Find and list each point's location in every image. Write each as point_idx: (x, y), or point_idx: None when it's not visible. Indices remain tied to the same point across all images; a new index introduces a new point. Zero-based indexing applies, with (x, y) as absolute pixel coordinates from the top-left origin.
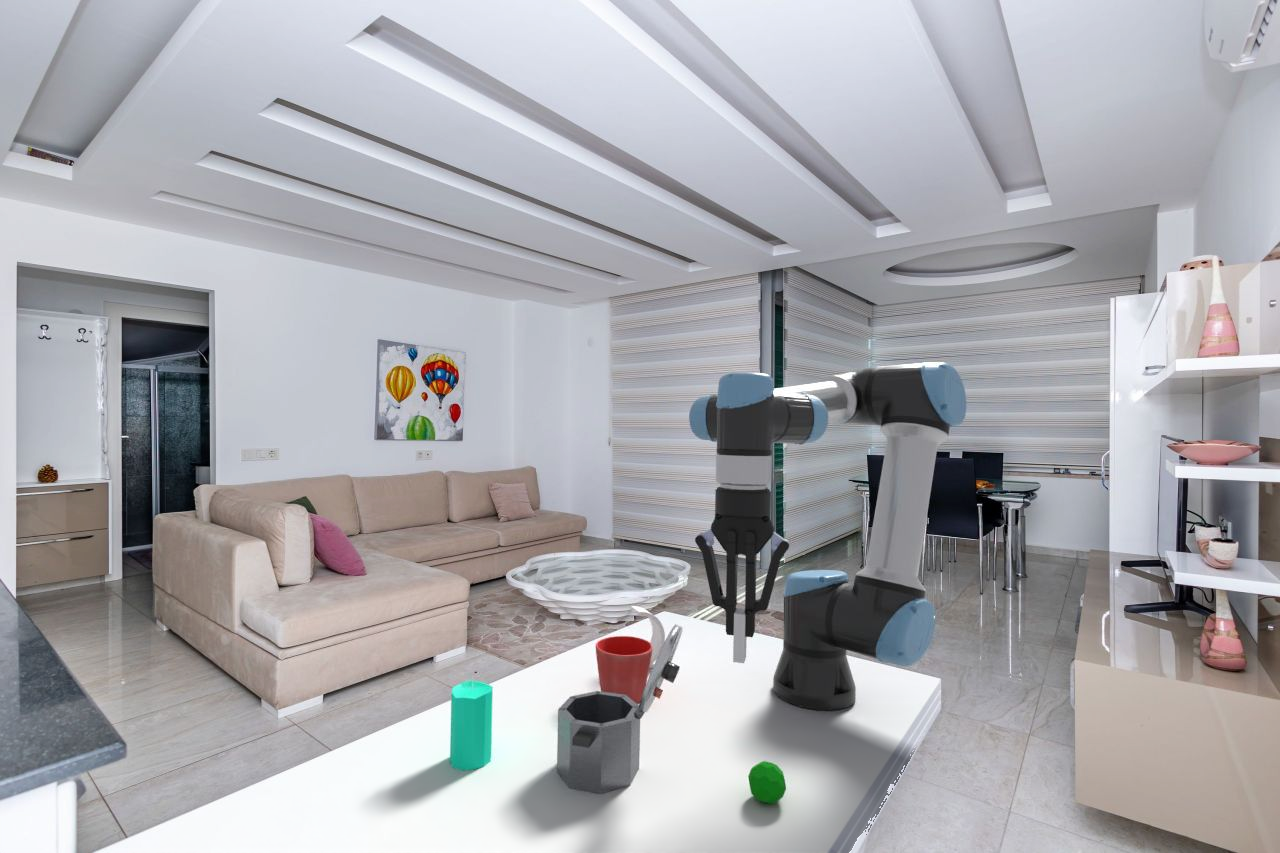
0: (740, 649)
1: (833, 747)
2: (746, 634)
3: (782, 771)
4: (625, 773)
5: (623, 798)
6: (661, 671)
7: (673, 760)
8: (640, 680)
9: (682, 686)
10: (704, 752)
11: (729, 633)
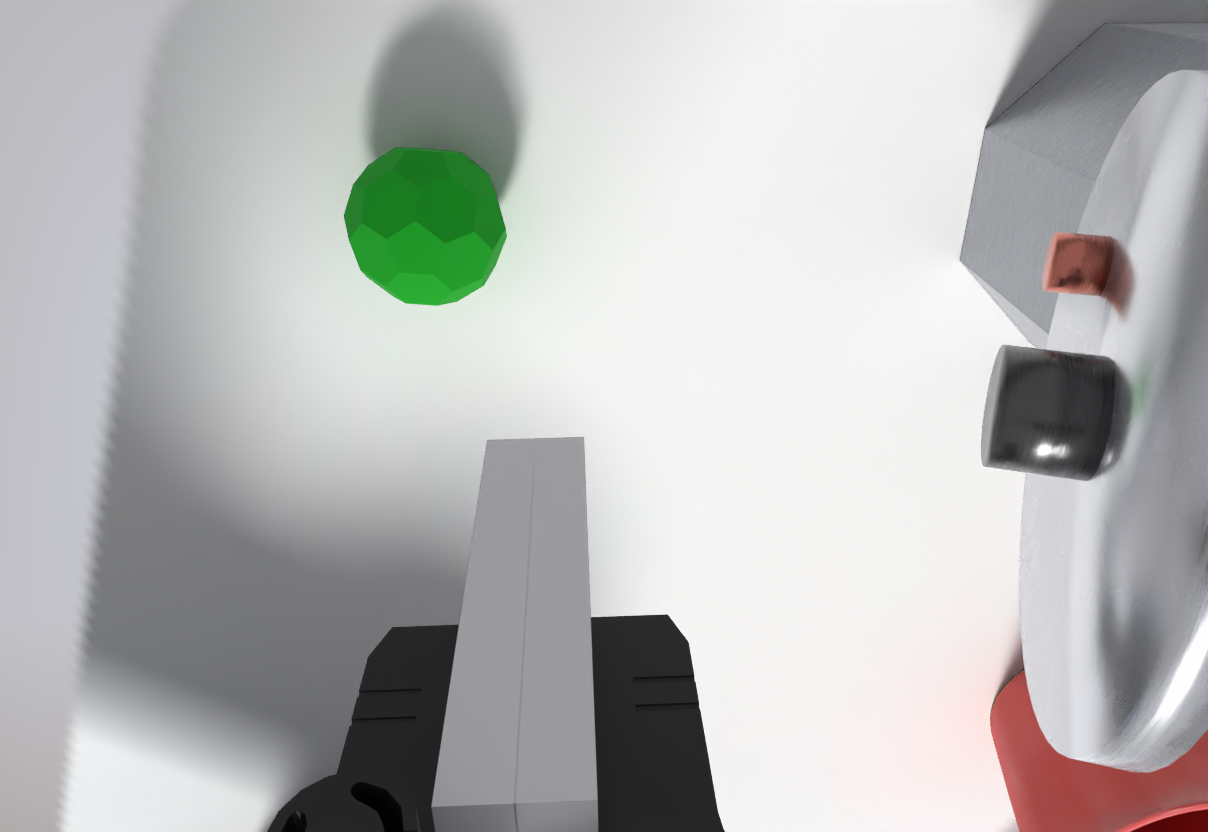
0: (515, 505)
1: (265, 614)
2: (454, 643)
3: (361, 270)
4: (1029, 121)
5: (1003, 25)
6: (1156, 266)
7: (829, 358)
8: (1041, 748)
9: (851, 826)
10: (717, 446)
11: (642, 625)
